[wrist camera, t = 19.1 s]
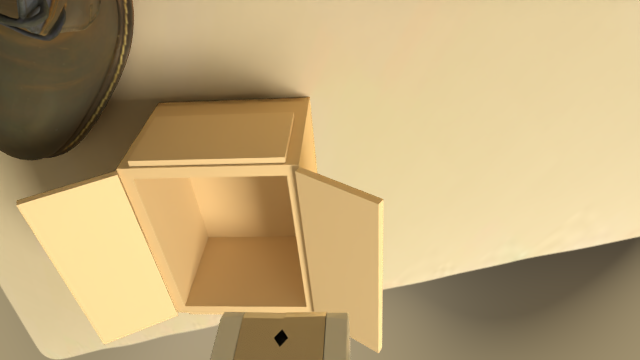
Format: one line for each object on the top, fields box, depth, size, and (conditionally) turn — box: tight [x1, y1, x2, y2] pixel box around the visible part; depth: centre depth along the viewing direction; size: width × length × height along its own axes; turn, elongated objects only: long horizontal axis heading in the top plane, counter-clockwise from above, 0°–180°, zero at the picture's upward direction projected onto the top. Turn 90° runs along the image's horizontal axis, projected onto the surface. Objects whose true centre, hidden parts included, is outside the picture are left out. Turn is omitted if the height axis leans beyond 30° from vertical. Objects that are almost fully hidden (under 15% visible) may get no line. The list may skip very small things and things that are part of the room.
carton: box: [117, 97, 317, 314], centre depth 45 cm, size 14×19×10 cm
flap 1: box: [17, 171, 178, 344], centre depth 41 cm, size 1×18×7 cm
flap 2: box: [295, 167, 383, 353], centre depth 39 cm, size 1×18×7 cm
